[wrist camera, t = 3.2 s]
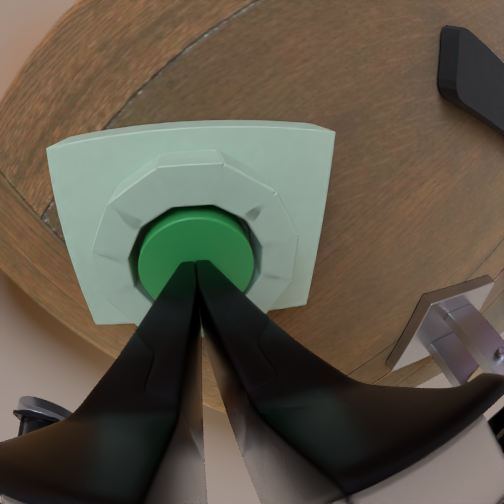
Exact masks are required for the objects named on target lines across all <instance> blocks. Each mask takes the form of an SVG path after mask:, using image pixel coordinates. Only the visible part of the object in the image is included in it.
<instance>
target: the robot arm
mask: <svg viewBox="0 0 504 504" xmlns="http://www.w3.org/2000/svg"><path fill="white" fill-rule="evenodd" d="M200 317H201V318H200ZM201 325H202V327H201ZM202 331H203V335H204V339H205V343H206V346H207V350H208V354H209V357H210V360H211V364H212V367H213V371H214V374H215V377H216V380H217V384H218V387H219V390H220V393H221V396H222V399H223V403H224V406H225V409H226V412H227V415H228V417H229V420H230V423H231V426H232V429H233V432H234V435H235V438H236V441H237V443H238V446H239V449H240V451H241V454H242V457H243V458H244V462H245V465H246V467H247V470H248V473H249V475H250V478H251V480H252V483H253V485H254V487H255V490H256V492H257V495H258V497H259V499H260V502H261V504H504V406H503V407H502V408H501V409H500V410H499V411H498V412H497V413H496V414H495V415H494V416H492V417H491V418H490V419H489V420H488V421H487V420H486V418H485V417H484V415H483V413H484V412H485V411H486V410H488V408H490V407H491V406H492V405H493V404H494V403H495V402H496V401H497V400H498V399H499V398H500V397H502V396H503V395H504V375H500V374H492V373H481V374H479V375H478V376H476V377H475V378H474V379H472V380H471V381H469V382H468V383H466V384H464V385H460V386H457V387H451V388H439V389H438V388H436V389H435V388H408V387H392V386H380V385H370V384H365V383H362V382H359V381H356V380H354V379H352V378H350V377H348V376H347V375H345V374H343V373H342V372H340V371H339V370H337V369H336V368H334V367H333V366H331V365H330V364H328V363H327V362H325V361H324V360H322V359H321V358H320V357H318V356H317V355H315V354H314V353H312V352H311V351H309V350H308V349H307V348H305V347H304V346H303V345H301V344H300V343H298V342H297V341H296V340H294V339H293V338H292V337H291V336H290V335H288V334H287V333H286V332H285V331H284V330H282V329H281V328H280V327H279V326H278V325H277V324H276V323H275V322H274V321H273V320H271V319H270V318H269V317H268V316H267V315H266V314H265V313H264V312H263V311H262V310H261V309H260V308H258V307H257V306H256V305H255V304H254V303H253V302H252V301H251V300H250V299H249V298H248V297H247V296H246V295H245V294H244V293H243V292H242V291H240V290H239V289H238V288H237V287H236V286H235V285H234V284H233V283H232V282H231V281H230V280H229V279H228V278H227V277H226V276H225V275H224V274H223V273H222V272H221V271H220V270H219V269H218V268H217V267H216V266H215V265H214V264H213V263H212V262H211V261H209V260H197V261H196V262H194V261H185V262H181V263H180V264H179V266H178V267H177V269H176V270H175V272H174V273H173V274H172V276H171V277H170V279H169V280H168V282H167V283H166V285H165V286H164V288H163V289H162V291H161V292H160V294H159V295H158V297H157V298H156V300H155V301H154V303H153V304H152V306H151V307H150V309H149V310H148V312H147V314H146V315H145V317H144V318H143V320H142V321H141V323H140V324H139V326H138V328H137V329H136V331H135V333H134V334H133V335H132V337H131V338H130V340H129V342H128V343H127V345H126V346H125V348H124V349H123V351H122V352H121V354H120V355H119V356H118V358H117V359H116V360H115V362H114V363H113V364H112V366H111V367H110V368H109V370H108V371H107V372H106V374H105V375H104V376H103V377H102V379H101V380H100V381H99V383H98V384H97V385H96V386H95V387H94V389H93V390H92V391H91V393H90V394H89V395H88V397H87V398H86V399H85V400H84V402H83V403H82V404H81V405H80V406H79V408H78V409H77V410H76V411H75V412H74V413H72V414H71V415H70V416H69V417H67V418H65V419H64V420H61V421H60V420H59V419H57V418H55V417H49V416H43V415H37V414H32V413H27V412H22V411H17V410H14V411H13V414H14V415H15V416H16V417H17V418H18V419H19V420H20V426H19V433H18V437H15V438H13V439H9V440H6V441H3V442H0V496H1V498H2V499H1V501H2V503H0V504H207V490H206V476H205V464H204V462H205V460H204V441H203V440H204V439H203V411H202V410H203V409H202Z"/></svg>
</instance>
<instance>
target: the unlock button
mask: <svg viewBox="0 0 504 504" xmlns="http://www.w3.org/2000/svg"><path fill="white" fill-rule="evenodd" d="M197 260H209V261H211V262H212V263H213V264H214V265H215V266H216V267H217V268H218V269H219V270H220V271H221V272H222V273H223V274H224V275H225V276H226V277H227V278H228V279H229V280H230V281H231V282H232V283H233V284H234V285H235V286H236V287H237V288H238V289H239V290H240V291H242V292H243V291H244V290H245V289H246V287H247V286H248V284H249V282H250V280H251V277H252V274H253V269H254V256H253V252H252V249H251V246H250V244H249V241H248V239H247V237H246V234H245V232H244V229H243V227H242V225H241V222H240V221H239V219H238V217H237V216H236V215H234V214H232V213H230V212H227V211H225V210H223V209H221V208H219V207H217V206H215V205H199V206H185V207H172V208H170V209H168V210H167V211H165V212H164V213H162V214H161V215H159V216H158V217H156V218H155V219H153V220H152V221H150V222H149V223H148V224H147V226H146V229H145V232H144V236H143V241H142V245H141V250H140V255H139V260H138V272H139V277H140V280H141V282H142V284H143V287H144V288H145V290H146V291H147V293H148V294H149V295H150V296H151V297H152V298H153V299H154V300H156V298H157V297H158V295H159V294H160V292H161V291H162V289H163V288H164V286H165V285H166V283H167V282H168V280H169V279H170V277H171V276H172V274H173V273H174V272H175V270H176V269H177V267H178V266H179V264H180V263H181V262H185V261H194V262H196V261H197Z"/></svg>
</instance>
